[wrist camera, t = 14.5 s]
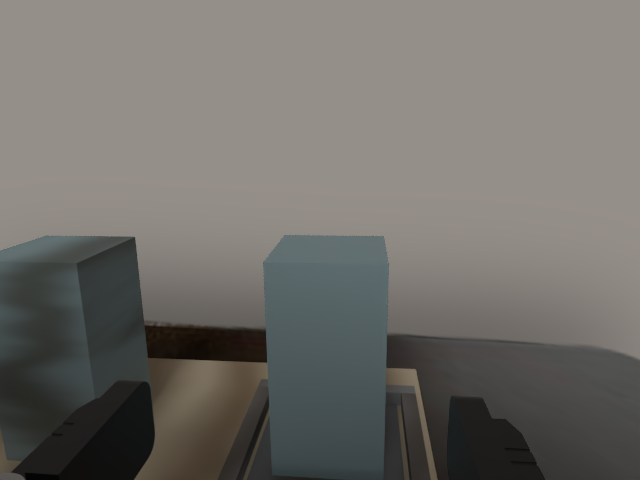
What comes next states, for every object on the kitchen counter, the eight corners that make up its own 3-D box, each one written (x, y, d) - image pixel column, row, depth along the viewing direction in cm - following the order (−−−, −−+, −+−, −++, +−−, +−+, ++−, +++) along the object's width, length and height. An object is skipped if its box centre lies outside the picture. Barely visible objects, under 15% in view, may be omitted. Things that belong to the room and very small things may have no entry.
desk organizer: (-158, 589, 17) (-247, 305, 15) (89, 374, 33) (67, 217, 30) (461, 654, 15) (487, 329, 12) (414, 389, 31) (421, 219, 28)
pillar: (271, 475, 21) (263, 262, 18) (289, 410, 26) (284, 235, 23) (383, 481, 20) (388, 264, 18) (379, 414, 25) (383, 236, 23)
